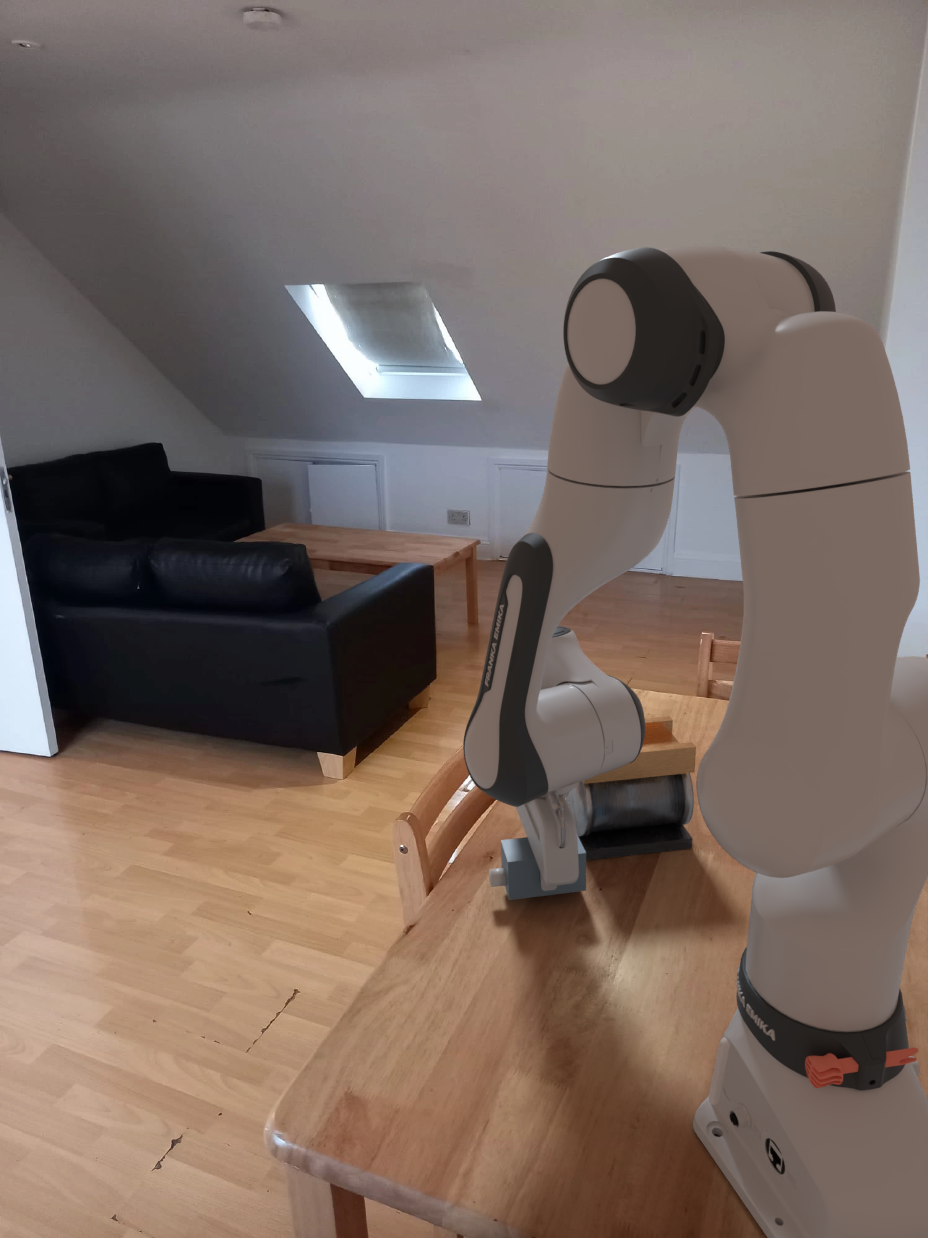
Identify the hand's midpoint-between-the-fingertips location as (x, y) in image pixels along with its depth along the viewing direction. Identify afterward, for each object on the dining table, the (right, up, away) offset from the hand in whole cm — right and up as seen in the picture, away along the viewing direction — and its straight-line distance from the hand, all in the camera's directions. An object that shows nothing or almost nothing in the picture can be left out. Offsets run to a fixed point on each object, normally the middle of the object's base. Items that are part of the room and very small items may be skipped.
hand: (542, 871), depth 99 cm
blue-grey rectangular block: (0, -2, +1) cm, 2 cm away
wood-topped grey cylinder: (+12, +1, +12) cm, 17 cm away
